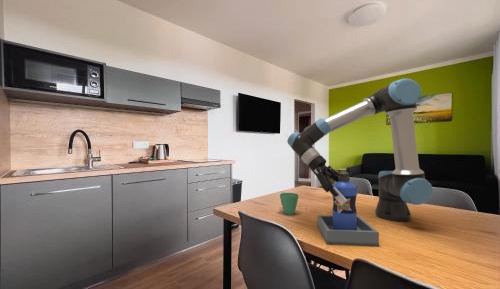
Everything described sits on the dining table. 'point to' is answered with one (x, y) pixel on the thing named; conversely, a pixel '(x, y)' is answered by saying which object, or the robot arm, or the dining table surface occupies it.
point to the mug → (289, 202)
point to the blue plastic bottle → (345, 204)
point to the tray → (348, 233)
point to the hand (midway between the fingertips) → (350, 199)
